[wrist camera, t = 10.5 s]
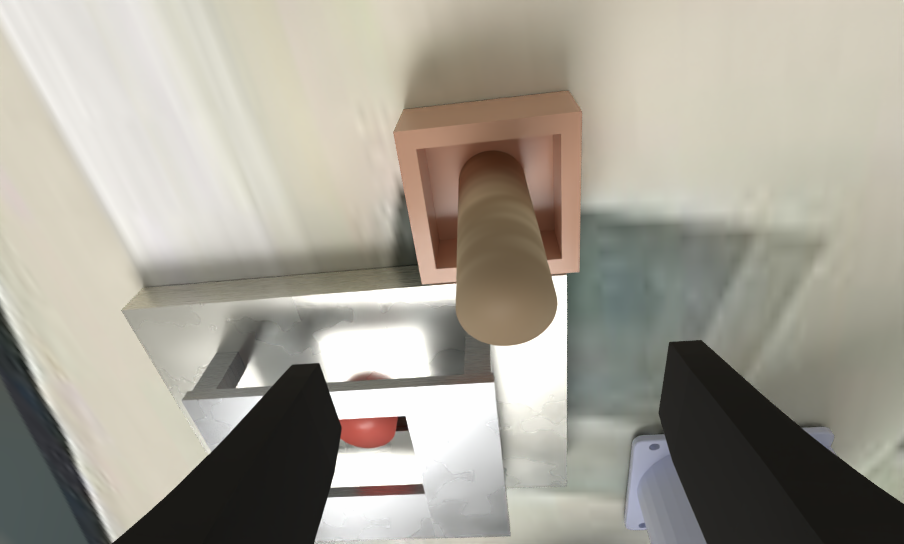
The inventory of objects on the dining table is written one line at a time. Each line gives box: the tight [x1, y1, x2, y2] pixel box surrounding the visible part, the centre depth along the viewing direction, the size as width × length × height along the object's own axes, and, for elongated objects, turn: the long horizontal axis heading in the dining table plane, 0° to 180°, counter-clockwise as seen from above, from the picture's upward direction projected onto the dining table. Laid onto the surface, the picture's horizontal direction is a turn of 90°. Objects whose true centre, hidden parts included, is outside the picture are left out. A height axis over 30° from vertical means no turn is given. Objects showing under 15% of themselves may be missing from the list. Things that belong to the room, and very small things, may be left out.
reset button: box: [339, 416, 398, 448], centre depth 23 cm, size 3×3×2 cm
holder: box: [393, 91, 582, 284], centre depth 17 cm, size 6×6×2 cm
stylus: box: [456, 150, 558, 346], centre depth 15 cm, size 2×2×8 cm
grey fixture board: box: [121, 265, 567, 542], centre depth 23 cm, size 18×13×4 cm
